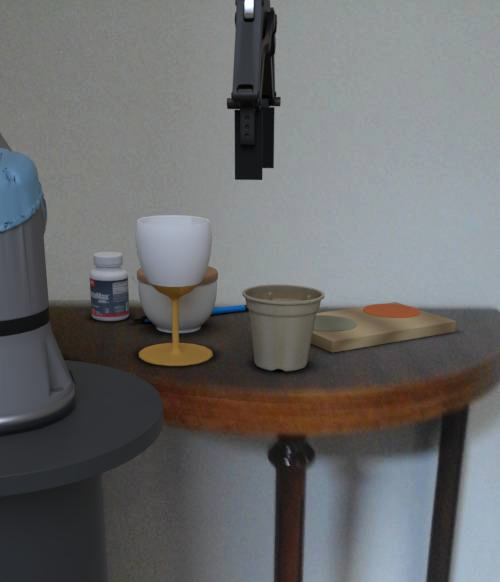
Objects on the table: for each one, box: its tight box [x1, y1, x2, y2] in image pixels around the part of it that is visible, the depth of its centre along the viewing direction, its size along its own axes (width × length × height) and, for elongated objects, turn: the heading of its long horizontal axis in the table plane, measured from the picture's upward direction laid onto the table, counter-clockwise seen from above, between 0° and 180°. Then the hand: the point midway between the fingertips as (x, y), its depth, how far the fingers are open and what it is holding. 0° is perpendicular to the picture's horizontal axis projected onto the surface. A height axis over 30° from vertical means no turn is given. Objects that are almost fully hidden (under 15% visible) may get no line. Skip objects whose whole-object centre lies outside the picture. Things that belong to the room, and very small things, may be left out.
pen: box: [132, 304, 249, 324], centre depth 119 cm, size 1×19×1 cm
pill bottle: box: [89, 251, 130, 322], centre depth 116 cm, size 5×5×9 cm
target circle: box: [363, 303, 420, 318], centre depth 117 cm, size 8×8×1 cm
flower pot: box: [241, 283, 325, 372], centre depth 97 cm, size 9×9×9 cm
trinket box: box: [136, 265, 219, 334], centre depth 111 cm, size 11×11×9 cm
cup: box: [135, 214, 214, 367], centre depth 98 cm, size 9×9×16 cm
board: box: [310, 301, 457, 354], centre depth 113 cm, size 21×13×2 cm, turn 121°
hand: (255, 173), depth 90 cm, fingers open, 13 cm apart
